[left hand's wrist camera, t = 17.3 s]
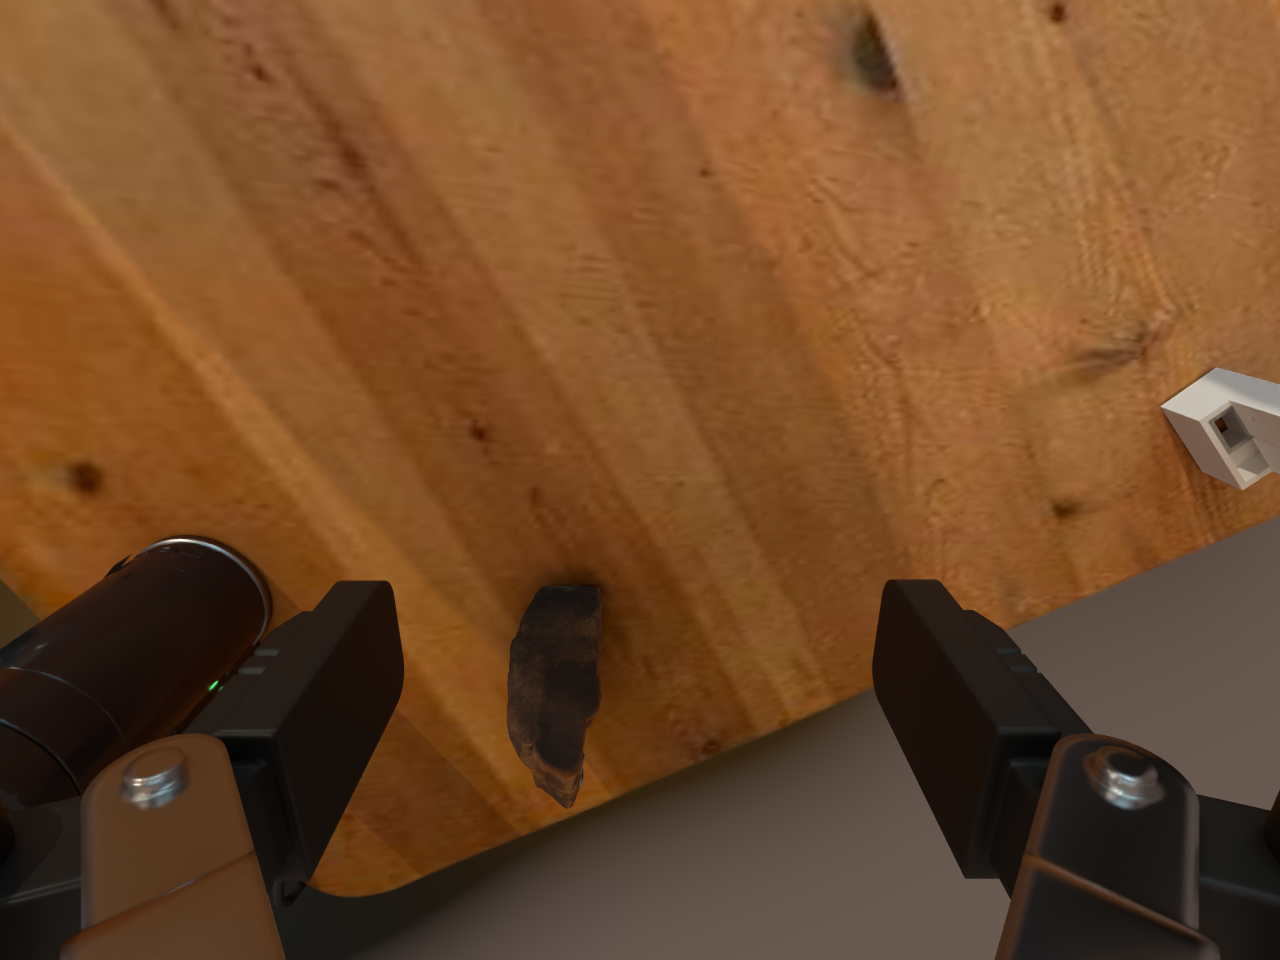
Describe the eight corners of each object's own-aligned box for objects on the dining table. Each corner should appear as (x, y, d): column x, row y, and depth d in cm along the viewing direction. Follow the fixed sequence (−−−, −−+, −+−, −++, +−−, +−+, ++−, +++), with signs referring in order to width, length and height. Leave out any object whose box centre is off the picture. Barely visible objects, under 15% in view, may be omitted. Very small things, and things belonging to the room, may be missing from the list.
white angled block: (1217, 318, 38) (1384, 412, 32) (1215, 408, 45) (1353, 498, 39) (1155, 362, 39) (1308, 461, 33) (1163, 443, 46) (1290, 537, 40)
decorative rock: (590, 719, 51) (578, 843, 41) (508, 707, 51) (476, 830, 41) (617, 579, 47) (611, 679, 37) (528, 565, 46) (497, 662, 36)
